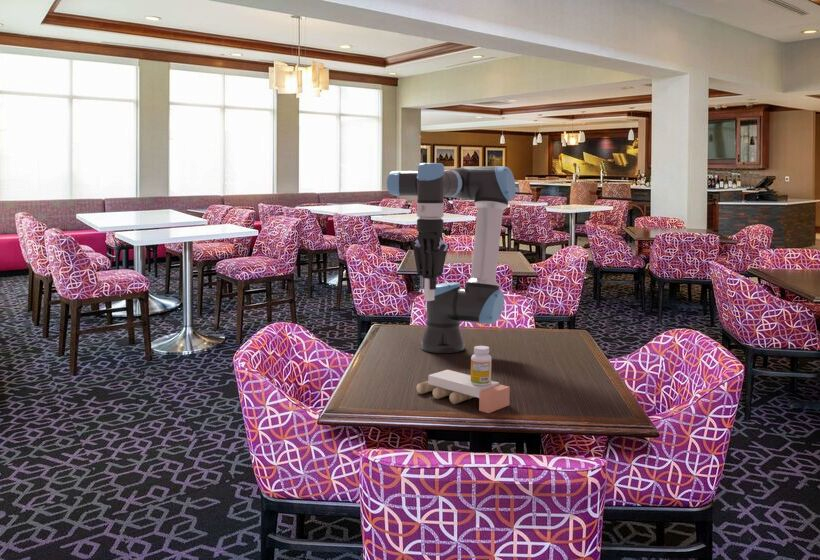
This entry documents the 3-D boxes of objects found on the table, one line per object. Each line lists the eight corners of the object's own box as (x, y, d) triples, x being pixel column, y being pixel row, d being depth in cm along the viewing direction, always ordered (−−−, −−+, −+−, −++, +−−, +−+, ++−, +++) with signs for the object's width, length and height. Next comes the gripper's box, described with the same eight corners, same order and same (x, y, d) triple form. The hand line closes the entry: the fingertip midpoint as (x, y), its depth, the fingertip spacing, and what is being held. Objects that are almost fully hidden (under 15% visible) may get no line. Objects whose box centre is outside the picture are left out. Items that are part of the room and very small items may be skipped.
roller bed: (416, 392, 190) (416, 382, 189) (440, 385, 197) (440, 375, 196) (458, 405, 179) (458, 394, 179) (481, 396, 187) (481, 386, 186)
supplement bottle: (476, 379, 184) (477, 343, 182) (494, 382, 181) (495, 346, 179) (466, 383, 179) (467, 347, 178) (485, 387, 176) (485, 350, 175)
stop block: (479, 410, 175) (479, 391, 175) (499, 402, 182) (500, 384, 181) (488, 413, 173) (488, 394, 172) (509, 405, 180) (509, 386, 179)
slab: (428, 383, 188) (428, 375, 187) (447, 378, 193) (447, 369, 193) (480, 398, 175) (480, 389, 175) (498, 391, 181) (499, 382, 181)
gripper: (404, 217, 195) (404, 299, 198) (438, 219, 186) (437, 304, 189) (422, 216, 200) (421, 296, 204) (456, 218, 191) (455, 301, 195)
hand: (429, 300), depth 196 cm, fingers closed
